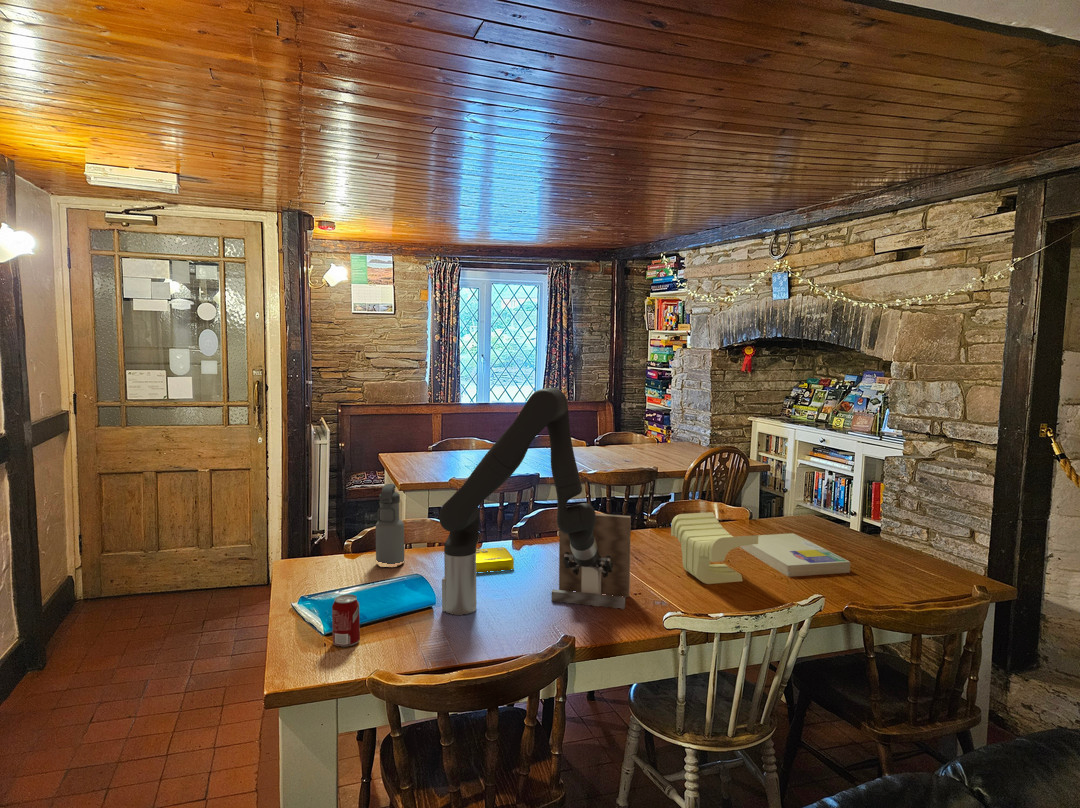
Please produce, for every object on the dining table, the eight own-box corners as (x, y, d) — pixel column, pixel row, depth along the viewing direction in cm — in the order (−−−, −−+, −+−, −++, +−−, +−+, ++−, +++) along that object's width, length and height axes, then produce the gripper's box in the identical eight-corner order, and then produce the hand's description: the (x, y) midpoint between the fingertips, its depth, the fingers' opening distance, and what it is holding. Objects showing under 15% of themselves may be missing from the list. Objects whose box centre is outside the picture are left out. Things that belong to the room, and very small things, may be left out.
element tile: (471, 575, 230) (471, 561, 229) (464, 561, 244) (464, 548, 244) (515, 571, 234) (515, 557, 233) (505, 558, 248) (505, 545, 248)
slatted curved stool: (670, 563, 241) (671, 514, 240) (711, 560, 245) (712, 512, 243) (710, 594, 212) (712, 538, 211) (756, 590, 216) (758, 535, 214)
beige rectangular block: (581, 600, 206) (581, 565, 205) (585, 593, 212) (585, 559, 211) (597, 602, 205) (598, 566, 204) (601, 595, 211) (601, 560, 210)
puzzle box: (793, 544, 268) (736, 546, 264) (793, 532, 268) (737, 535, 263) (850, 575, 233) (786, 578, 228) (851, 562, 232) (786, 565, 228)
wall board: (551, 601, 206) (552, 520, 203) (560, 588, 217) (561, 511, 214) (624, 609, 200) (625, 525, 198) (629, 595, 211) (630, 516, 209)
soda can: (349, 650, 172) (348, 604, 171) (327, 646, 175) (326, 600, 173) (365, 639, 178) (364, 595, 177) (344, 635, 181) (343, 591, 180)
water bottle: (400, 569, 234) (399, 489, 231) (372, 569, 234) (371, 488, 232) (407, 559, 244) (406, 483, 242) (380, 559, 244) (378, 482, 242)
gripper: (610, 538, 196) (615, 564, 209) (562, 534, 200) (570, 560, 212) (606, 561, 192) (612, 587, 204) (557, 557, 196) (566, 582, 208)
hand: (591, 573), depth 208 cm, fingers open, 8 cm apart
